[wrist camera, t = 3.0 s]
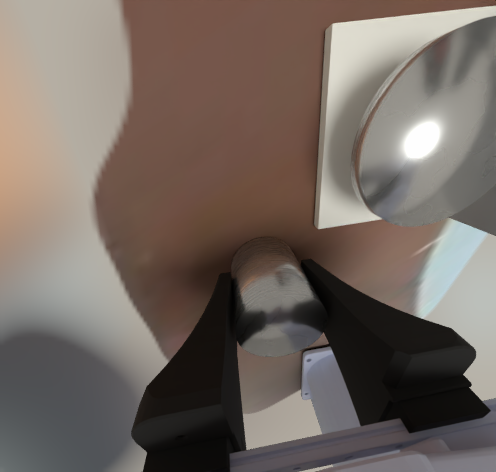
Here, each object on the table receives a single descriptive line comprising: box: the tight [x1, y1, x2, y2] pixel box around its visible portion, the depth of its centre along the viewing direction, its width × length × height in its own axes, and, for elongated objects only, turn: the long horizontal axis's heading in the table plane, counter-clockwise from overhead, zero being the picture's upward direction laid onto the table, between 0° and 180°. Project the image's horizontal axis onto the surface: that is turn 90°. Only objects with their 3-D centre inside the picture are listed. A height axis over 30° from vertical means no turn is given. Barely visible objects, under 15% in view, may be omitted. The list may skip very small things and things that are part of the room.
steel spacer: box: [231, 237, 328, 357], centre depth 11 cm, size 4×4×5 cm
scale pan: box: [350, 16, 496, 227], centre depth 8 cm, size 7×7×1 cm
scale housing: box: [314, 6, 496, 236], centre depth 9 cm, size 9×9×4 cm
